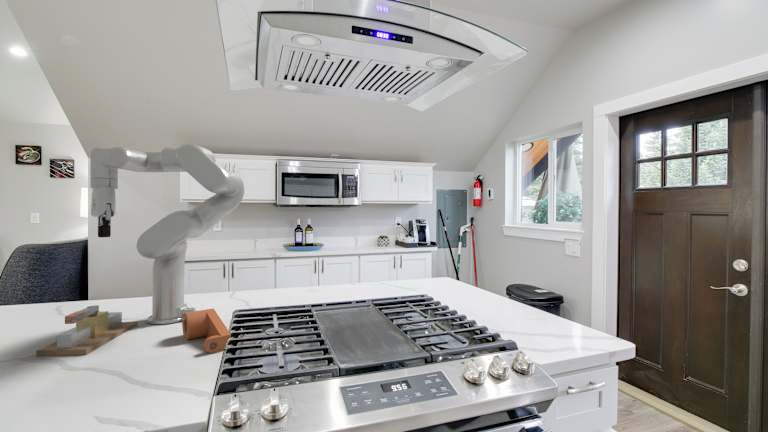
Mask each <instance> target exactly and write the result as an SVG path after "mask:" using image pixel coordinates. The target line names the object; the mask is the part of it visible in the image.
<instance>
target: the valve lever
mask: <svg viewBox="0 0 768 432" xmlns="http://www.w3.org/2000/svg"><path fill="white" fill-rule="evenodd" d="M96 312H100V306H99V305H96V304H95V305H89V306H87V307H85V308H83V309H81V310H77V311H75V312H72V313H70V314H67V315H65V316H64V325H75V324H76V322H78V321H80V320H82V319H84V318H85V317H87V316H89V315H91V314H93V313H96Z"/></svg>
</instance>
